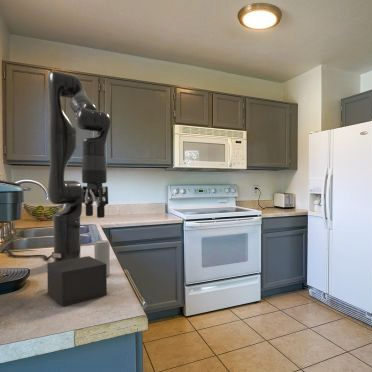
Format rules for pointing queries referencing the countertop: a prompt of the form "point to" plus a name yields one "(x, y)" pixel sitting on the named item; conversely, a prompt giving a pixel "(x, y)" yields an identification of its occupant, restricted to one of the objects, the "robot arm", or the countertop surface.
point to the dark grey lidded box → (76, 280)
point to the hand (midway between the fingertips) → (94, 216)
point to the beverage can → (103, 253)
